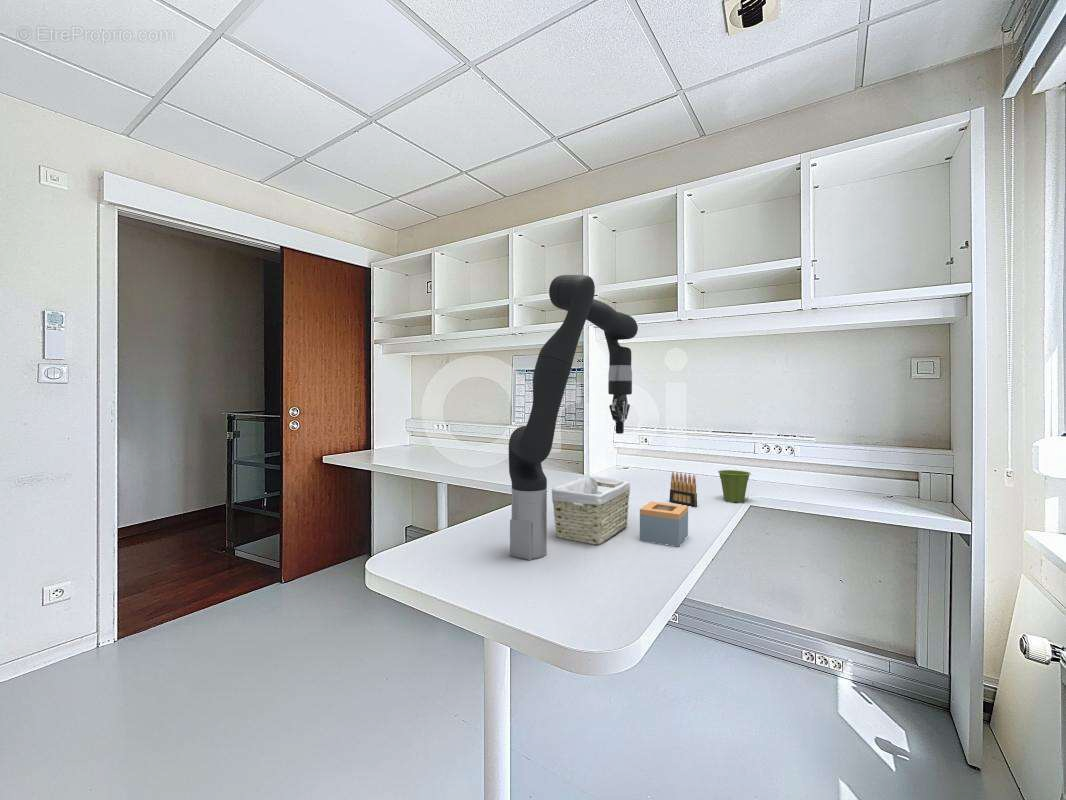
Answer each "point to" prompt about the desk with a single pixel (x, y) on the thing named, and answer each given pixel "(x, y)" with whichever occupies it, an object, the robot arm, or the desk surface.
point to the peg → (664, 508)
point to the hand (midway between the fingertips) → (619, 433)
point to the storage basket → (590, 509)
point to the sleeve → (664, 523)
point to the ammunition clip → (683, 490)
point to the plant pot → (734, 484)
